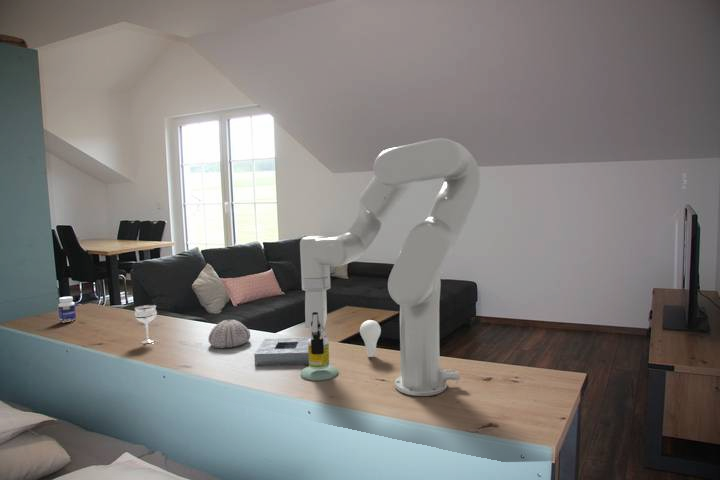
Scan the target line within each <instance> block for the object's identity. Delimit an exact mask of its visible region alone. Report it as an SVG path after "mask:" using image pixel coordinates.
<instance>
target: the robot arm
mask: <svg viewBox="0 0 720 480" xmlns="http://www.w3.org/2000/svg"><path fill="white" fill-rule="evenodd" d="M373 173H374V176H373V178H372V179H371V180H370V181H369V183H368V184H367V186H366V187H365V189H364V190H363V191H362V192H361V194H360V195H359V197H358V204H359V212H358V213H357V217H356V218H355V220H354V221H353V223H352V224H351V226H350V227H349V228H348V230H347V231H346V232H345V233H344V234H341V235H336V236H331V237H327V236H324V235H309V236H308V235H307V236H304V237H302V238H301V240H300V241H299V252H300V255H299V256H300V257H299V258H300V273H301V274H300V275H301V290H302V291H305V294H304V295H305V297H304V307H305V308H304V309H305V310H304V314H305V315H304V316H305V317H304V319H305V321H304V322H305V329H307V330H308V329H309V328H310V331H311V336H310V338H311V353H312V354H323V353H324V344H323V339H322V329H323V330H325V331H326V327H325V325H326V322H327V316H328V315H327V314H328V312H327V311H328V310H327V309H328V308H327V307H328V306H327V305H328V302H327V290H330V289H331V270H330V269H331V268H330V266H331V267H341V266H345V265H347V264H349V263H353V262H356V261H358V260H359V259H360V258H362V256H363V255H364V254H365V253H366V252H367V251H368V249H370V247H371V245H372V244H373V243H374V241H375V240H376V238H377V237H378V236H379V234H380V233H381V231H382V228H383V227H384V225H385V222H386V221H387V218H388V217H389V215H390V214H391V213H392V211H393V210H394V209H395V208H396V206H397V205H398V203H399V202H400V201H401V199H402V198H403V197H404V195H406V193H407V191H408V190H410V188H411V186H412V185H413V184H414V183H419V182H425V181H431V180H437V179H439V180H440V179H442V181H443V182H442V186H441V187H440V190H439V191H438V194H437V195H436V197H435V199H434V202H433V204H432V207H431V209H430V211H429V213H428V215H427V216H426V218H425V220H424V221H421V222H419V223H417V224H416V225H415V226H414V227H412V229H411V230H410V231H409V233H408V234H407V236H406V238H405V240H404V242H403V245H402V246H401V249H400V251H399V252H398V253H399V254H398V256H397V258H396V260H395V262H394V264H393V267H392V269H391V272H390V274H389V276H388V281H387V290H388V293H389V296H390V297H391V299H392V300H393V301H394V302H395V304H397V305H399V342H400V343H399V351H400V353H399V354H400V375H399V376H397V377H396V379H394V387H395V389H396V390H397V391H399V392H400V393H402V394H406V395H409V396H415V397H429V396H434V395H439V394H440V393H442V392H444V391H445V390H446V388H447V381H459V380H461V378H460V371H454V370H453V369H443V368H442V367H441V365H440V364H441V363H440V362H441V361H440V301H441V299H440V298H441V286H442V285H441V284H442V283H441V275H440V269H441V267H442V265H443V263H444V260H445V259H446V258H447V257H449V256H450V255H451V254H452V252H454V250H455V247H456V245H457V242H458V241H459V238H460V235H461V233H462V231H463V229H464V227H465V225H466V223H467V220H468V218H469V215H470V213H471V211H472V209H473V206H474V204H475V202H476V200H477V197H478V194H479V191H480V186H481V173H480V168H479V165H478V163H477V161H476V159H475V157H474V156H473V155H472V153H471V152H470V151H469V150H468V149H467V148H466V147H465V146H464V145H462V144H461V143H459V142H456V141H454V140H451V139H449V138H442V137H440V138H433V139H428V140H424V141H418V142H414V143H410V144H405V145H400V146H394V147H390V148H387V149H385V150H383V151H381V152H380V153H379V154H378V155H377V157H376V158H375V161H374V163H373ZM318 330H320V332H319V331H318ZM325 337H326V336H325ZM326 338H327V337H326Z"/></svg>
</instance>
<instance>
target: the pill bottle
mask: <svg viewBox="0 0 720 480" xmlns="http://www.w3.org/2000/svg"><path fill="white" fill-rule="evenodd" d="M73 300H74V298H73V296H71V295H70V296H62V297H59V299H58V301H59V303H58V305H57V307H58V321H70V320H74V319H76V320H77V315H76V304H75V303H76V302H74V301H73Z"/></svg>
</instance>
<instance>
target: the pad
mask: <svg viewBox="0 0 720 480" xmlns="http://www.w3.org/2000/svg"><path fill="white" fill-rule="evenodd" d="M338 373H339V370H338V368H337V367H336V366H334V365H331V364H329V366H328V367H327V368H325V369H312V368H310V367H309V366H307V367H304V368H302V370H300V377H301V378H302V379H304V380H306V381H310V382H313V381H314V382H322V381H327V380H332V379H333V378H335V377H336V376H338Z"/></svg>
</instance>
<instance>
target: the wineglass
mask: <svg viewBox="0 0 720 480" xmlns="http://www.w3.org/2000/svg"><path fill="white" fill-rule="evenodd" d="M156 308H157V305H155V304H145V305H139V306H135V307H134V311H135V312H134V317H135V319H136V320H137V321H138V322H140V323H143V324H144V325H145V333H146V334H145V335H146V339H145V340H143V341H141V342H142V343H151V342H154V340H155V339H149V324H150V323H151V322H152V321H154V319H155V318H156V317H157V315H158V312H157V309H156Z"/></svg>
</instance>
